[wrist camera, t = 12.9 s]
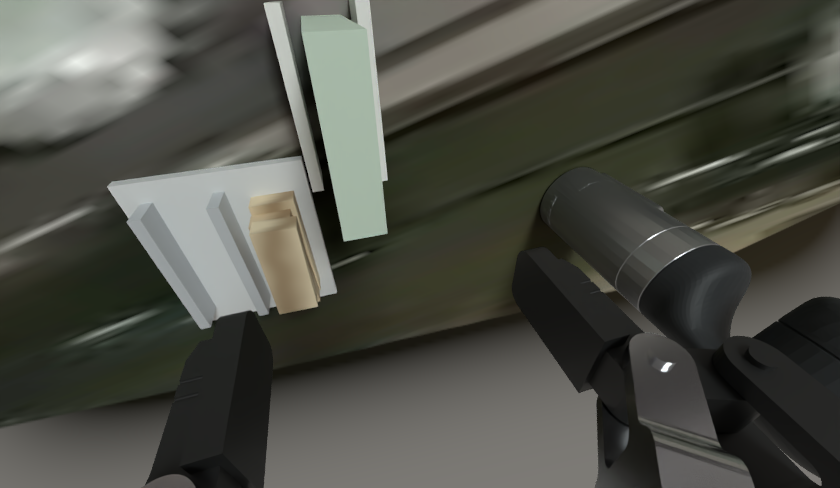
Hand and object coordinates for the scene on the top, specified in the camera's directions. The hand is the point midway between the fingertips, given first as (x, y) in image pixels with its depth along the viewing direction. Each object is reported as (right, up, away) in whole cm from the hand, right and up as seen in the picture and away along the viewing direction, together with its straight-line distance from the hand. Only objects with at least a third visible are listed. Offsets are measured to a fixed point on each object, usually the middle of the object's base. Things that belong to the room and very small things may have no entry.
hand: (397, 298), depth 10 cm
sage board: (-7, +15, +20) cm, 26 cm away
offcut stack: (-14, +2, +26) cm, 29 cm away
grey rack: (-18, +1, +26) cm, 32 cm away
